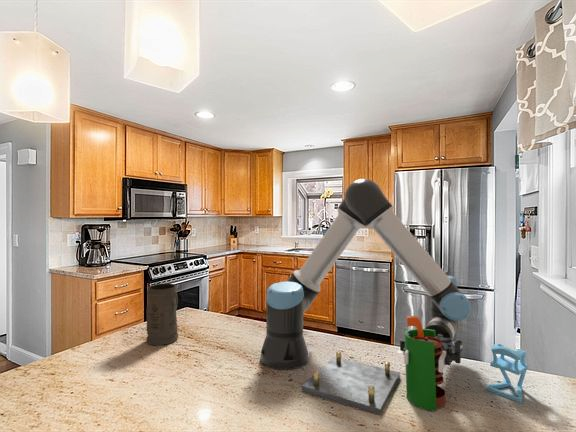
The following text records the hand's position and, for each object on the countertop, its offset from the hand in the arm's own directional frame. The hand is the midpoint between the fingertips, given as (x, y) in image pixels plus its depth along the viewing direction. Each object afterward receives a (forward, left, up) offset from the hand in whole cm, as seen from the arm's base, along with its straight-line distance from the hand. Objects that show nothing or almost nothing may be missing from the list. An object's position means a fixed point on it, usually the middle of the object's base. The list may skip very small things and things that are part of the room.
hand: (422, 362), depth 76 cm
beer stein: (-89, -1, -11) cm, 90 cm away
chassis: (-18, +3, -11) cm, 21 cm away
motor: (0, +5, -11) cm, 12 cm away
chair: (+18, +21, -11) cm, 30 cm away
